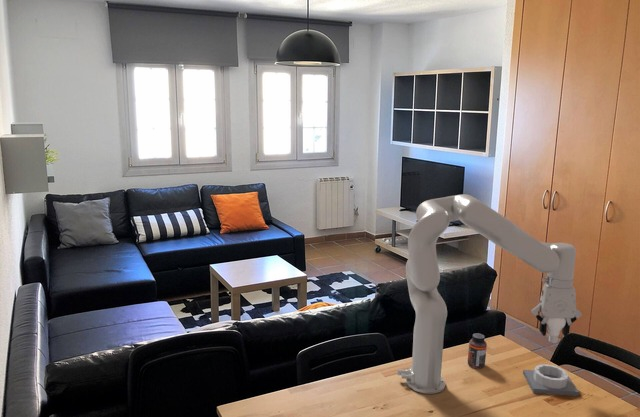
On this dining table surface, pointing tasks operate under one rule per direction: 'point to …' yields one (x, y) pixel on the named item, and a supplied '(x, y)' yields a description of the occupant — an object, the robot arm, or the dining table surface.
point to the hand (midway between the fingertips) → (553, 334)
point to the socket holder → (550, 380)
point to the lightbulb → (555, 328)
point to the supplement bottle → (477, 351)
